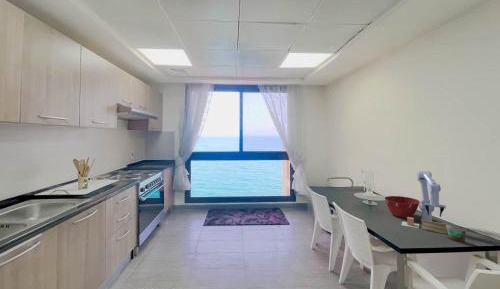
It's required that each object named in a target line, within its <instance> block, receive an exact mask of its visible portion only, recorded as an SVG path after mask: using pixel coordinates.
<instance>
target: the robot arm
mask: <svg viewBox="0 0 500 289" xmlns="http://www.w3.org/2000/svg"><path fill="white" fill-rule="evenodd" d="M432 176H433V175H432V171H430V170H429V171H424V170H423V171H421V170H418V171H417V172H416V178H417V182H419V183H420V184H419V185H420V189H421V195H422V196H421V197H422V199H421V200H419V201H420V203H419V206H418V207H419V210H420V211H421V218H420V222H421V223H422V220H425V221H431V222H433V220H432V216H433V215H432V214H433V212H434V211H435V208H438V209H439V217H440V218H441V217H442V214H443V212H444V210H446V208H447V206H446V205H442V204H440V192H441V190H442V189H441V185H440V183H439V184H438V183H437V182H436V181H435V180H434V179H433V178H432ZM429 194H430V195H429Z"/></svg>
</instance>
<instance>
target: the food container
mask: <svg viewBox="0 0 500 289" xmlns="http://www.w3.org/2000/svg"><path fill="white" fill-rule="evenodd" d="M446 224H447V225H446V227H447V230H448V234H447V237H448V239H449V240H450V241H454V242H457V243H465V240H466V234H467V232H468V230H467V228H466V227H465V228H464V227H460V226H458V225H452V224H450V223H449V222H447V223H446ZM449 224H450V225H449Z"/></svg>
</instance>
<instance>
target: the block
mask: <svg viewBox="0 0 500 289" xmlns="http://www.w3.org/2000/svg"><path fill="white" fill-rule="evenodd" d="M406 222H407V225H411V226H414V223H415V218H414V217H412V216H411V217H407V218H406Z"/></svg>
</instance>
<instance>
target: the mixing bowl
mask: <svg viewBox="0 0 500 289" xmlns="http://www.w3.org/2000/svg"><path fill="white" fill-rule="evenodd" d="M384 199H385V200H384V201H385V204H386V206H387V209H388V212H390V213H391V214H392V215H393V216H395V217H397V218H405V219H407V217H411V218H412V216H414V214H415V213H416V212H417V210H418V207H419V203H420V201H421V200H419V199H416V198H412V197H407V196H400V195H389V196H385V197H384Z"/></svg>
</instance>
